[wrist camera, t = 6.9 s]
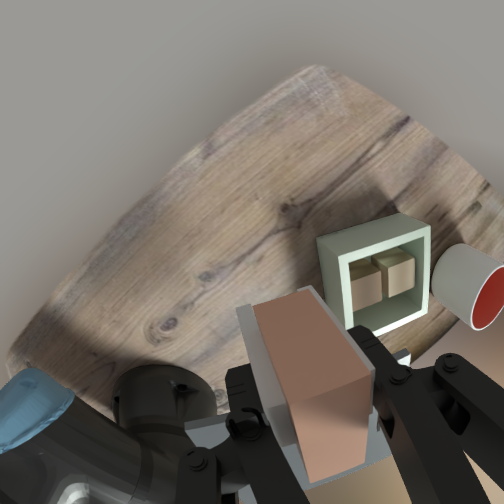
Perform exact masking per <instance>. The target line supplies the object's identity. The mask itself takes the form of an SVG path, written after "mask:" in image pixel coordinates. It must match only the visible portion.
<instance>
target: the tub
mask: <svg viewBox="0 0 504 504" xmlns="http://www.w3.org/2000/svg"><path fill="white" fill-rule="evenodd" d="M316 243H317V249H318V255H319V261H320V268H321V274H322V281H323V288H324V295H325V303H326V305H327V306H328V307H329V308H330V310H331V311H332V312H333V314H334V315H335V316H336V318H337V319H338V320H339V321H340V323H341V324H342V325H343V327H344V328H345V329H346V330H347V329H350V328H353V327H355V326H358V325H362V326H364V327H366V328H368V329H370V330H371V331H372V332H373V334H374V335H375V336H376V337H377V336H379V335H381V334H383V333H386V332H388V331H390V330H392V329H395V328H397V327H399V326H401V325H403V324H405V323H408V322H410V321H412V320H414V319H416V318H418V317H420V316H422V315H424V314H426V313H427V308H428V295H429V279H430V243H431V238H430V225H428V224H426V223H424V222H421V221H419V220H417V219H415V218H412V217H410V216H408V215H405V214H403V213H397V214H393V215H390V216H387V217H383V218H380V219H377V220H373V221H370V222H367V223H363V224H360V225H357V226H353V227H350V228H346V229H343V230H340V231H336V232H333V233H330V234H326V235H323V236H319V237H316ZM394 247H398V248H400V249H401V250H403V251H405V252H406V253H408V254H410V255H411V256H413V257H415V287H413V288H411V289H408V290H406V291H404V292H401V293H399V294H397V295H394V296H392V297H387V296H386V295H385V294H384V293H383V292H382V301H380V302H377V303H375V304H372V305H370V306H367V307H365V308H362V309H360V310H357V311H354V312H353V310H352V297H351V285H350V275H349V265H348V263H350V262H353V261H356V260H359V259H362V258H365V259H366V260H367V261H369V262H370V263H371V255H374V254H377V253H380V252H382V251H385V250H388V249H391V248H394Z"/></svg>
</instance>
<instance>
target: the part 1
mask: <svg viewBox="0 0 504 504" xmlns="http://www.w3.org/2000/svg"><path fill="white" fill-rule="evenodd" d="M348 265H349V275H350V285H351V297H352V310H353V312H354V311H357V310H360V309H362V308H365V307H367V306H370V305H372V304H375V303H377V302H380V301H382V284H381V270H379V269H378V268H377V267H375V266H374V265H373V264H371V263H370V262H369V261H367V260H366V259H365V258H362V259H359V260H356V261H353V262H350V263H348Z"/></svg>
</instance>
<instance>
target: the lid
mask: <svg viewBox="0 0 504 504" xmlns="http://www.w3.org/2000/svg"><path fill="white" fill-rule="evenodd" d="M253 310H254V313H255V317H256V320H257V324H258V327H259V330H260V333H261V336H262V339H263V342H264V344H265V347H266V350H267V353H268V355H269V358H270V361H271V364H272V366H273V369H274V372H275V374H276V377H277V380H278V383H279V385H280V388H281V391H282V393H283V396H284V399H285V402H286V405H287V408H288V412H289V416H290V419H291V423H292V427H293V430H294V434H295V437H296V441H297V443H295V444H292V445H289V446H285V447H282V448H281V449H282V451H283V453H284V455H285V457H286V459H287V461H288V463H289V465H290V467H291V469H292V471H293V473H294V475H295V477H296V478H297V480H298V482H299V484H300V486H301V488H302V490H307V489H310V488H313V487H316V486H319V485H322V484H325V483H327V482H330V481H333V480H335V479H338V478H341V477H343V476H346V475H348V474H351V473H353V472H356V471H358V470H360V469H363V468H365V467H367V466H369V465H372V464H374V463H376V462H378V461H380V460H382V459H384V458H386V457H388V456H390V455H391V450H390V448H389V445H388V443H387V441H386V438H385V436H384V434H383V431H382V429H381V427H380V431H378V432H377V419H378V412H377V410H376V409H375V407H374V406H373V413H372V414H370V415H369V410H370V394H371V373H370V371H369V370H368V368H367V367H366V366H365V364H364V363H363V362H362V360H361V359H360V357H359V356H358V355H357V353H356V352H355V351H354V349H353V348H352V346H351V345H350V344H349V342H348V341H347V340H346V338H345V337H344V336H343V334H342V333H341V332H340V330H339V329H338V328H337V326H336V325H335V323H334V322H333V321H332V319H331V318H330V317H329V315H328V314H327V313H326V311H325V310H324V309H323V307H322V306H321V305H320V303H319V302H318V301H317V299H316V298H315V297H314V295H313V294H312V293H311V291H310V290H309V289H306V290H302V291H299V292H296V293H293V294H290V295H287V296H284V297H280V298H277V299H274V300H271V301H268V302H264V303H261V304H258V305H254V306H253ZM392 356H393V357H394V358H395V359H396V360H397V362H398V363H399V364H402V365H407V366H409V364H410V357H411V354H410V353H409V352H408V350H407V349H406V348H405V349H403V350H400V351H398V352H396V353H394V354H392ZM229 413H230V412H229ZM229 413H225V414H221V415H217V416H212V417H208V418H203V419H199V420H194V421H189V422H184V424H185V432H186V433H187V435H188V436H189V437H190V439H191V440H192V441H193V443H194V444H195V445H196V447H206V448H208V449H211V448H213V447H215V446H217V445H219V444H220V443H222V442H223V441H225V440H226V439H227V438H228V437H229V435H230V434H229V432H228V430H227V428H226V426H225V420H226V418H227V415H228V414H229ZM238 494H239V499H240V500H241V501H242V502H243V503H244V504H255V503H257V502H256V499H255V497H254V494H253V492H252V489H251V487H250V484H249V485H247V486H245V487H244V488H242V489H240V490H238Z"/></svg>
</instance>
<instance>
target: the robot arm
mask: <svg viewBox="0 0 504 504" xmlns="http://www.w3.org/2000/svg"><path fill="white" fill-rule="evenodd" d="M306 289H309V290H310V291H311V293H312V294H313V295H314V297H315V298H316V299H317V301H318V302H319V303H320V305H321V306H322V307H323V309H324V310H325V311H326V313H327V314H328V315H329V317H330V318H331V319H332V321H333V322H334V323H335V325H336V326H337V328H338V329H339V330H340V332H341V333H342V334H343V336H344V337H345V338H346V340H347V341H348V342H349V344H350V345H351V346H352V348H353V349H354V351H355V352H356V353H357V355H358V356H359V357H360V359H361V360H362V362H363V363H364V364H365V366H366V367H367V368H368V370H369V371H370V373H371V394H370V410H369V415H370V414H372V413H373V406H374V407H375V409H376V410H377V412H378V419H377V432H378V431H380V427H381V429H382V431H383V434H384V436H385V438H386V441H387V443H388V445H389V448H390V450H391V453H392V455H393V457H394V460H395V462H396V464H397V467H398V469H399V472H400V474H401V477H402V479H403V481H404V484H405V486H406V489H407V492H408V494H409V497H410V499H411V502H412V504H491V503H490V501H489V499H488V497H487V495H486V493H485V491H484V489H483V487H482V485H481V483H480V481H479V479H478V477H477V475H476V474H475V472H474V470H473V468H472V466H471V464H470V462H469V461H468V459H467V457H466V455H465V453H466V454H467V455H468V456H469V457H470V458H471V459H472V460H473V461H474V462H475V463H476V464H477V465H478V466H479V467H480V468H481V469H482V470H483V471H484V472H485V473H486V474H487V475H488V476H489V477H490V478H491V479H492V480H493V481H494V482H495V483H496V484H497V485H498V486H499V487H500V488H501V489H502V490H503V491H504V389H503V388H502V387H501V386H500V385H498V384H497V383H496V382H494V381H493V380H492V379H491V378H489V377H488V376H487V375H485V374H484V373H483V372H481V371H480V370H479V369H478V368H476V367H475V366H473V365H472V364H471V363H470V362H468V361H467V360H466V359H464V358H463V357H462V356H460V355H458V354H454V353H447V354H443V355H441V356H439V358H438V359H437V360H436V362H435V366H430V367H426V368H421V369H412V368H411V367H409V366H407V365H402V364H399V363H398V362H397V360H396V359H395V358H394V357H393V356H392V354H391V353H390V352H389V351H388V350H387V349H386V347H385V346H384V345H383V344H382V343H381V342H380V341H379V339H378V338H376V336H375V335H374V334H373V332H372V331H371V330H370V329H368V328H366V327H364V326H362V325H358V326H355V327H353V328H350V329H347V330H346V329H345V328H344V327H343V325H342V324H341V323H340V321H339V320H338V319H337V318H336V316H335V315H334V314H333V312H332V311H331V310H330V308H329V307H328V306H327V305H326V303H325V302H324V301H323V300H322V298H321V297H320V296H319V294H318V293H317V292H316V291H315V289H314V288H313V287H312V286H311V285H309V286H306V287H303V288H299V289H297V292H299V291H302V290H306ZM236 312H237V316H238V320H239V323H240V327H241V331H242V335H243V338H244V342H245V346H246V349H247V353H248V357H249V360H250V363H249V364H245V365H242V366H238V367H235V368H231V369H228V371H227V374H226V377H225V383H226V388H227V395H228V400H229V406H230V413H229V414H228V415H227V418H226V420H225V426H226V428H227V430H228V432H229V434H230V435H229V437H228V438H227V439H226V440H225V441H223V442H222V443H220V444H219V445H217V446H215V447H213V448H211V449H208V448H206V447H196V445H195V444H194V443H193V441H192V440H191V439H190V437H189V436H188V435H187V433H186V432H185V424H184V422H189V421H194V420H199V419H203V418H208V417H212V416H217V404H216V397H215V394H214V392H213V390H212V389H211V387H210V386H209V385H208V384H207V383H206V382H205V381H204V380H203V379H201V378H200V377H198V376H197V375H195V374H193V373H191V372H189V371H186V370H184V369H180V368H177V367H172V366H165V365H148V366H142V367H138V368H135V369H132V370H130V371H128V372H126V373H125V374H123V375H122V376H121V377H120V378H119V379H118V380H117V382H116V384H115V386H114V390H113V394H112V399H111V406H112V411H113V416H114V421H115V422H113V421H112V420H110V419H109V418H107V417H106V416H104V415H103V414H101V413H100V412H98V411H97V410H95V409H94V408H92V407H91V406H90V405H88V404H87V403H85V402H84V401H83V400H81V399H80V398H79V397H77V396H76V395H75V393H74V392H73V391H72V390H71V389H68V388H65V387H64V386H62V385H61V384H59V383H58V382H57V381H55V380H54V379H53V378H51V377H50V376H49V375H47V374H46V373H45V372H43V371H42V370H40V369H37V368H27V369H24V370H22V371H20V372H19V373H18V374H16V375H15V376H14V377H13V378H12V379H11V380H10V381H9V382H8V383H7V384H6V385H5V386H4V387H3V388H2V389H1V390H0V504H239V494H238V490H240V489H242V488H244V487H245V486H247V485H249V484H250V487H251V489H252V492H253V494H254V497H255V499H256V502H257V504H310V503H309V501H308V499H307V497H306V495H305V493H304V492H303V490H302V488H301V486H300V484H299V482H298V480H297V478H296V477H295V475H294V473H293V471H292V469H291V467H290V465H289V463H288V461H287V459H286V457H285V455H284V453H283V451H282V449H281V448H282V447H285V446H289V445H292V444H295V443H297V441H296V437H295V434H294V430H293V427H292V423H291V419H290V416H289V412H288V408H287V405H286V402H285V399H284V396H283V393H282V391H281V388H280V385H279V383H278V380H277V377H276V374H275V372H274V369H273V366H272V364H271V361H270V358H269V355H268V353H267V350H266V347H265V344H264V342H263V339H262V336H261V333H260V330H259V327H258V324H257V321H256V318H255V315H254V312H253V310H252V307H251V304H248V305H244V306H241V307H238V308H236ZM463 451H464V452H465V453H464V452H463Z"/></svg>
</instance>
